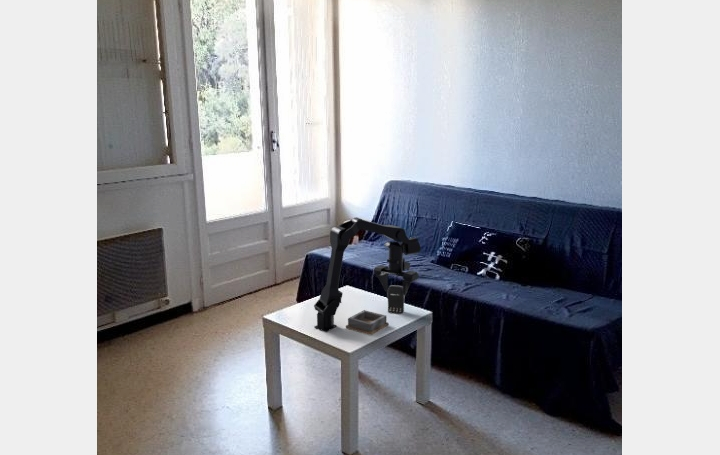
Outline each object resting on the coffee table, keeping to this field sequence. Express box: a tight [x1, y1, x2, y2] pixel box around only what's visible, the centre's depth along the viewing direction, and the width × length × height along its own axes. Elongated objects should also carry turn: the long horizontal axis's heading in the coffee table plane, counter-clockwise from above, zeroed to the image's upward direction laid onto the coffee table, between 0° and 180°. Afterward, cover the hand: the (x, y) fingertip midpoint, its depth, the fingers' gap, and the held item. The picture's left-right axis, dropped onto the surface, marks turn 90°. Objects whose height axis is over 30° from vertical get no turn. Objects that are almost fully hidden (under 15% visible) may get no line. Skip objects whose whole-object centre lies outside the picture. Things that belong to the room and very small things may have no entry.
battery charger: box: [386, 284, 406, 314], centre depth 240 cm, size 7×4×11 cm, turn 75°
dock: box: [345, 309, 390, 336], centre depth 227 cm, size 12×12×4 cm
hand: (395, 292), depth 239 cm, fingers open, 9 cm apart
